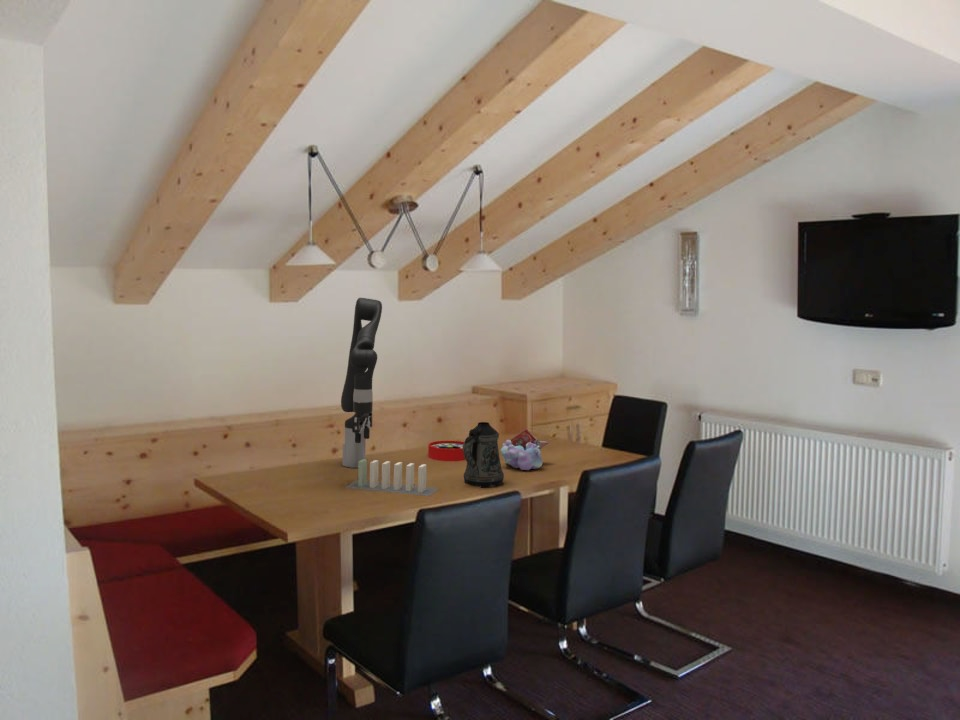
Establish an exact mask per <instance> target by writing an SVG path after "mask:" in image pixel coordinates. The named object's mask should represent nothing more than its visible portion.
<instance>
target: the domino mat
mask: <svg viewBox="0 0 960 720" xmlns="http://www.w3.org/2000/svg"><path fill="white" fill-rule="evenodd" d="M344 489H353V490H362V491H374V492H383V493H395V494H405V495H412V496H413V495H417V496H427V497H430V496H432V495H433V494H435V492H437V491H438V490H439V487H428V486H426V490H425V491H423V492H422V493H420V492H418V485H414V489H412V490H411V491H406V484H402V488H400V489H399V490H394V483H390V487H388V488H386V489H382V482H378V486H376V487H374V488H370V481H367V484H366V485H364V486H362V487H358V480H355V481H353V482H351V483H350V484H348V485H346V486H345V487H344Z"/></svg>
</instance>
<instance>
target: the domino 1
mask: <svg viewBox="0 0 960 720" xmlns="http://www.w3.org/2000/svg"><path fill="white" fill-rule="evenodd" d="M357 474H358V475H357V476H358V477H357V481H358V487H362V486H364V485H366V484H367V482H368V459H367V458H366V459H362V460H360V461H359V462H358V469H357Z"/></svg>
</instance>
